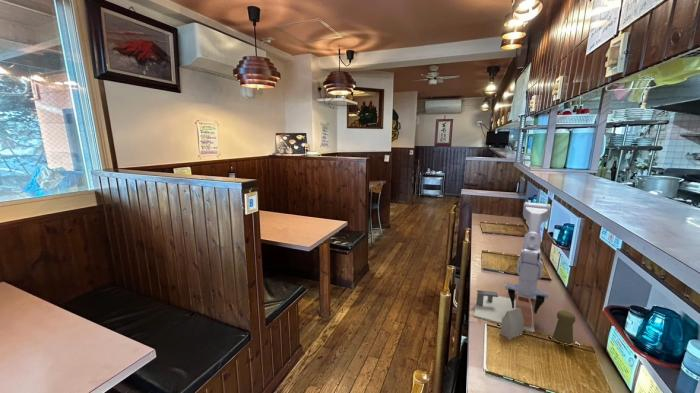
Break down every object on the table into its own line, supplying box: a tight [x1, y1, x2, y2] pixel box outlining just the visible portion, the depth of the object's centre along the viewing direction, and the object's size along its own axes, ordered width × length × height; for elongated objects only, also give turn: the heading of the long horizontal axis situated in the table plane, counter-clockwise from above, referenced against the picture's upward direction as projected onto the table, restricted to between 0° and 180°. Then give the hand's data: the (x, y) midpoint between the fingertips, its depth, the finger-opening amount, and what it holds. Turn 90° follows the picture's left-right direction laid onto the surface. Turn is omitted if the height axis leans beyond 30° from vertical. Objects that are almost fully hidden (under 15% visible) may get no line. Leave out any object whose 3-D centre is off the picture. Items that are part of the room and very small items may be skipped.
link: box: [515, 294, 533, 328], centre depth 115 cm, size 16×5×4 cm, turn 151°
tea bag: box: [500, 307, 524, 340], centre depth 104 cm, size 4×7×10 cm, turn 113°
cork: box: [552, 310, 576, 344], centre depth 101 cm, size 6×6×11 cm
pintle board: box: [473, 289, 535, 333], centre depth 120 cm, size 22×21×6 cm
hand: (523, 309), depth 115 cm, fingers open, 7 cm apart
